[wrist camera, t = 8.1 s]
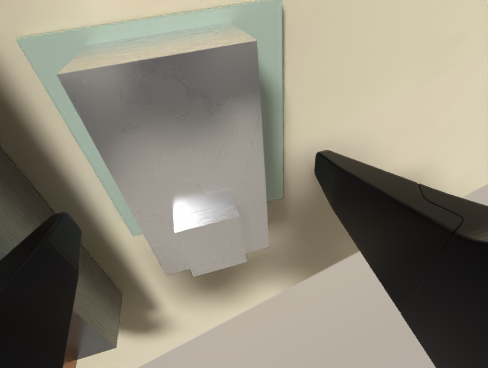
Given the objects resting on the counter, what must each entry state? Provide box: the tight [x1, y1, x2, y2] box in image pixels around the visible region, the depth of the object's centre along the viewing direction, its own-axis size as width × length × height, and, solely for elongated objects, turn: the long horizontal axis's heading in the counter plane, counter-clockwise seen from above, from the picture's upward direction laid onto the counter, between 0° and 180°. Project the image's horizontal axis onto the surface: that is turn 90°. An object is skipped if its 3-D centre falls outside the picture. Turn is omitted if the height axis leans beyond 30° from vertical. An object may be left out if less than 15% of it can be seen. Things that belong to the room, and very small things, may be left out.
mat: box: [16, 0, 283, 236], centre depth 12 cm, size 10×9×1 cm
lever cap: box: [56, 22, 269, 277], centre depth 10 cm, size 9×5×4 cm, turn 6°
